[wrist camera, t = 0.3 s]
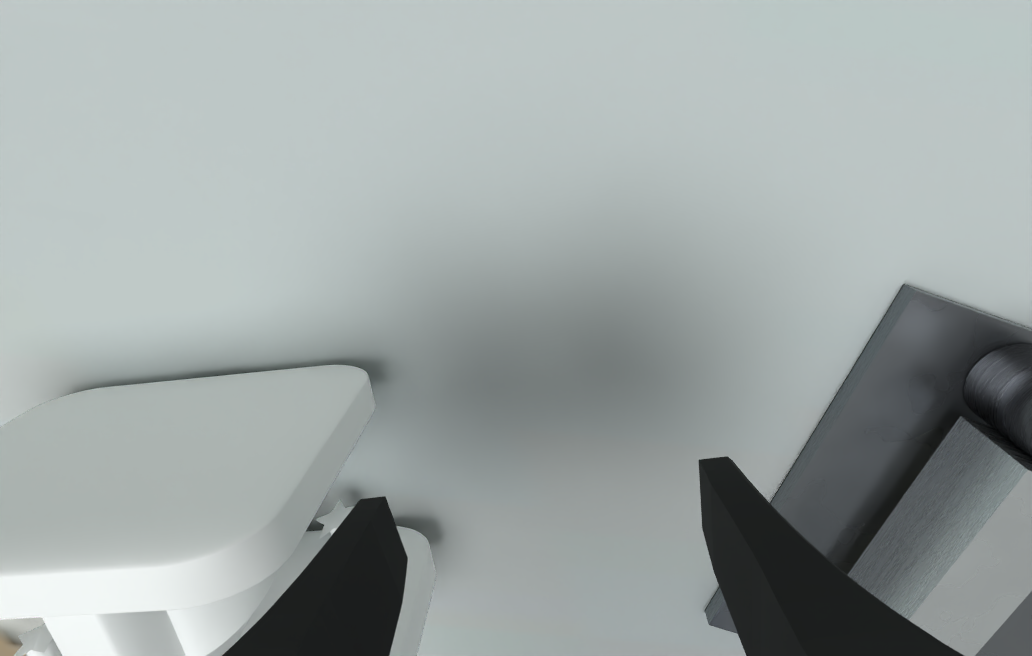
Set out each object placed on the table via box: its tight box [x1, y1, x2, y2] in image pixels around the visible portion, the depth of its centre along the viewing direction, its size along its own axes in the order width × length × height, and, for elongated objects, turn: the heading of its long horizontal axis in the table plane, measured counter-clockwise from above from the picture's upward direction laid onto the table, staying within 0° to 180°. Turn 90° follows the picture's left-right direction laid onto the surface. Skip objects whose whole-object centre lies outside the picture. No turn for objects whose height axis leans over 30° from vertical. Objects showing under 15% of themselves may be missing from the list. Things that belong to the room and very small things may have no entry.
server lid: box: [705, 284, 1032, 656], centre depth 25 cm, size 17×16×1 cm
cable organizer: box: [0, 365, 436, 656], centre depth 22 cm, size 15×11×12 cm
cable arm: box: [848, 344, 1032, 656], centre depth 22 cm, size 16×3×5 cm, turn 161°
